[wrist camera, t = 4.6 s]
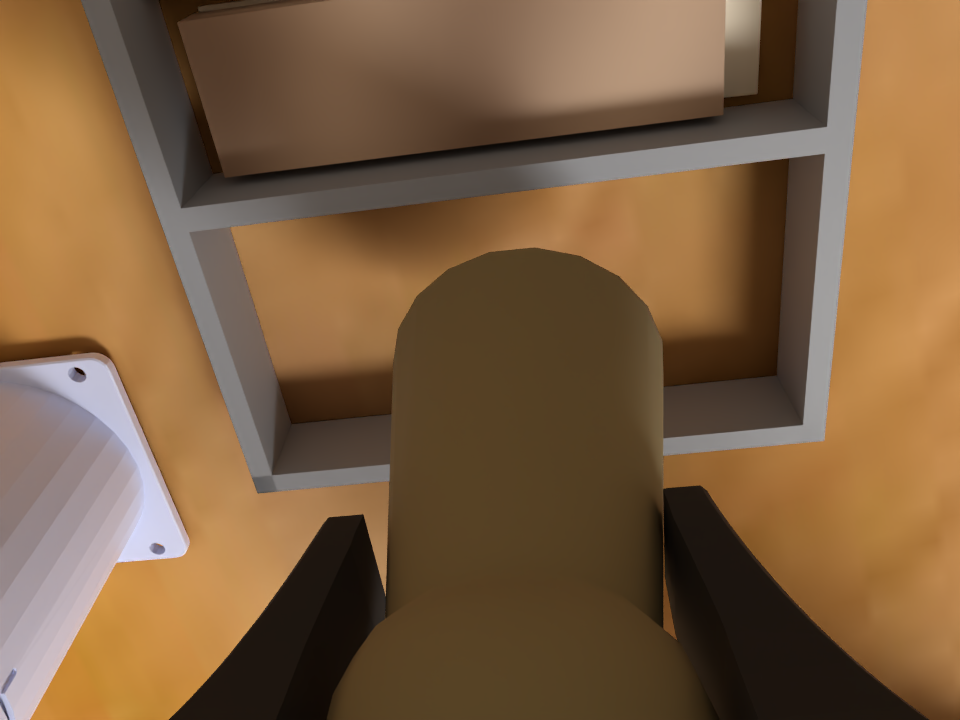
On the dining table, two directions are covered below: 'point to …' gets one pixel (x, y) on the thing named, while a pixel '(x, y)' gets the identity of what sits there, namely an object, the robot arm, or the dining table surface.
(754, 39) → the bottom offcut
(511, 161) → the rack
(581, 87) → the top offcut
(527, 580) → the cork
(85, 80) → the dining table surface
